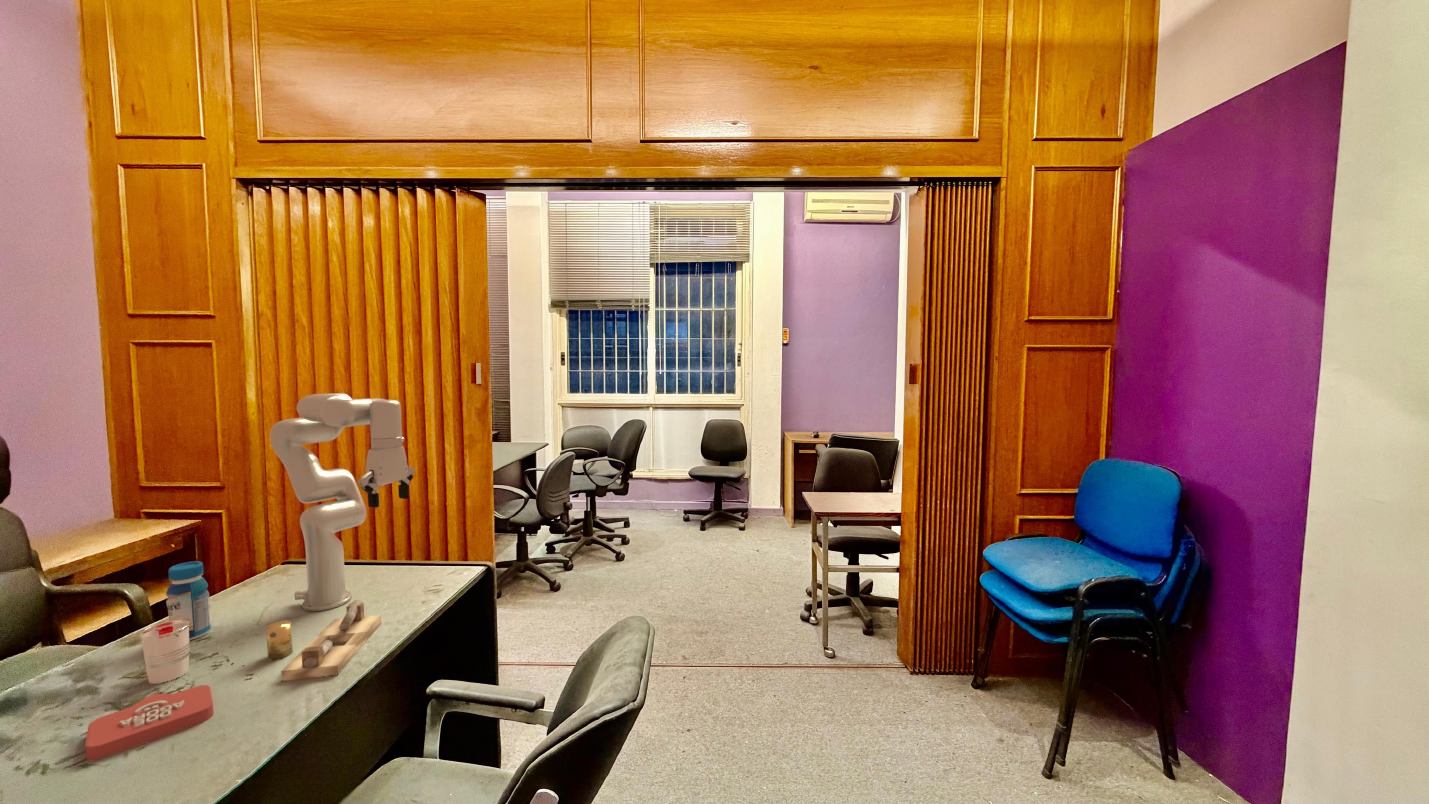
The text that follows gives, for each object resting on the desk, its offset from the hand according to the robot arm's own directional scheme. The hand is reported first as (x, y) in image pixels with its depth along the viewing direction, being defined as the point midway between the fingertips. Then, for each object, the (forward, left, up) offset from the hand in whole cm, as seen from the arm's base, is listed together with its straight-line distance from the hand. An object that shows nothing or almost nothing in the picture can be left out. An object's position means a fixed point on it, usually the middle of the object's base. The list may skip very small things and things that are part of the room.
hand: (389, 502), depth 151 cm
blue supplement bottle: (-53, +4, -36) cm, 64 cm away
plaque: (-34, -36, -37) cm, 62 cm away
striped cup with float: (-44, -17, -36) cm, 59 cm away
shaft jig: (-10, -12, -36) cm, 39 cm away
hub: (-23, -12, -36) cm, 44 cm away
